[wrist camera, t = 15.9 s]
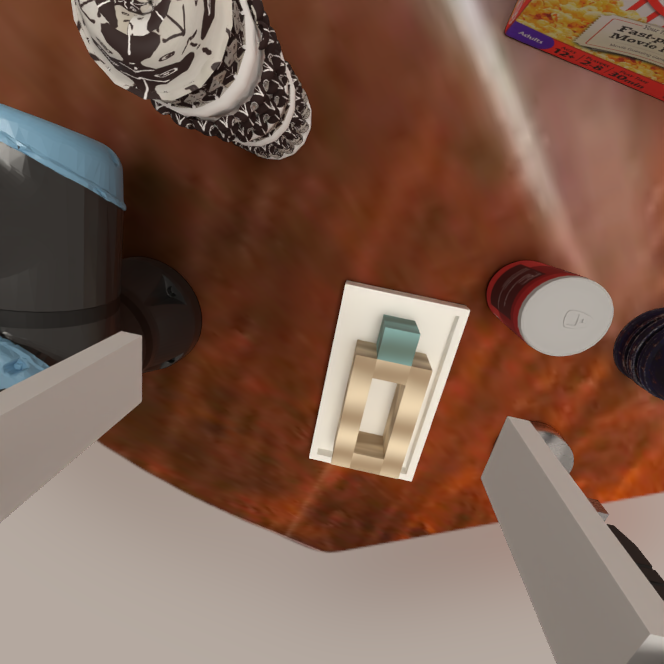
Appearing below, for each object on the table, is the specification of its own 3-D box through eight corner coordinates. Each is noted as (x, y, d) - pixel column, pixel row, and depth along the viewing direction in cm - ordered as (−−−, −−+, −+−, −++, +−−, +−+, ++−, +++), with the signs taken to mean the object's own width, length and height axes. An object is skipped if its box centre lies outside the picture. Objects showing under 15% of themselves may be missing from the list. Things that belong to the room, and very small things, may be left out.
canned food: (553, 317, 43) (611, 352, 33) (484, 325, 44) (519, 361, 34) (555, 254, 41) (619, 270, 30) (483, 264, 42) (520, 283, 32)
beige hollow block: (363, 310, 44) (363, 322, 40) (435, 325, 44) (442, 339, 39) (334, 440, 51) (330, 463, 47) (395, 453, 51) (398, 478, 46)
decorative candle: (240, 56, 37) (20, -197, 14) (324, 80, 37) (248, -133, 14) (226, 150, 40) (29, 73, 17) (304, 172, 40) (214, 126, 17)
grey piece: (484, 467, 51) (513, 533, 41) (506, 414, 48) (544, 472, 38) (546, 481, 51) (591, 551, 41) (572, 429, 48) (629, 490, 37)
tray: (311, 448, 53) (309, 458, 51) (346, 280, 44) (345, 283, 42) (409, 470, 53) (411, 481, 51) (465, 305, 44) (470, 310, 42)
